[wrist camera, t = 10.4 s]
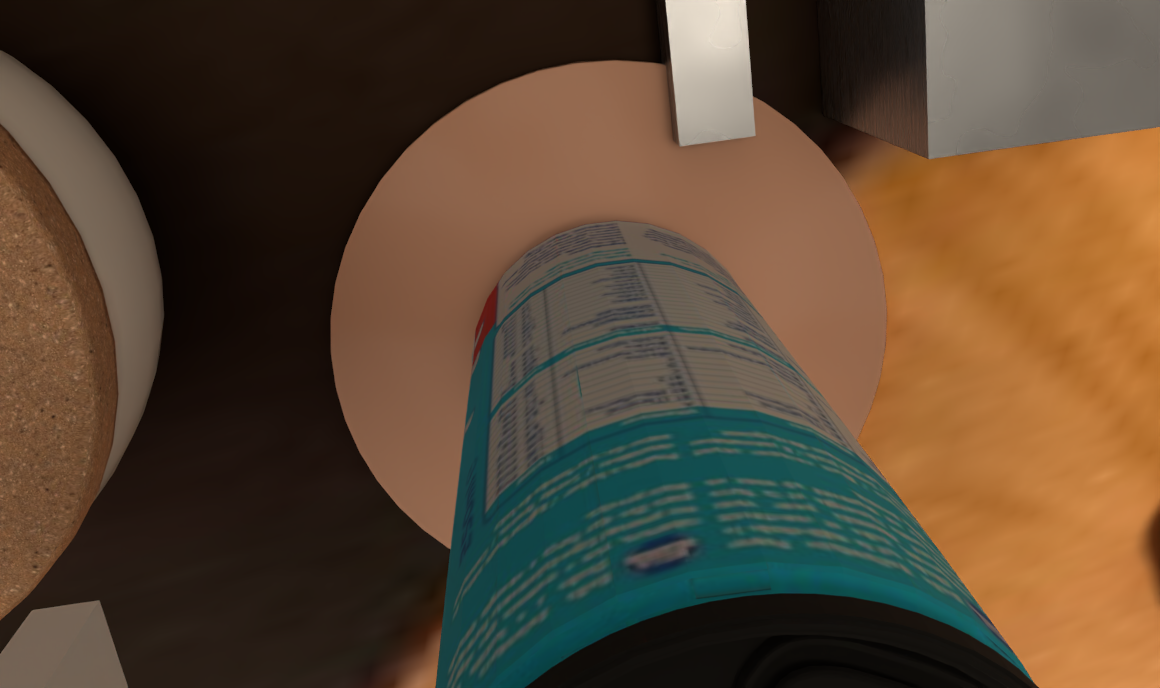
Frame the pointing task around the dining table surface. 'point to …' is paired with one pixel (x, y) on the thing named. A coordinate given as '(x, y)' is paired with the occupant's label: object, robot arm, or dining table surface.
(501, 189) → the coaster
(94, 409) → the lidded jar
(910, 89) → the dumbbell
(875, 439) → the dining table surface
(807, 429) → the beverage can
